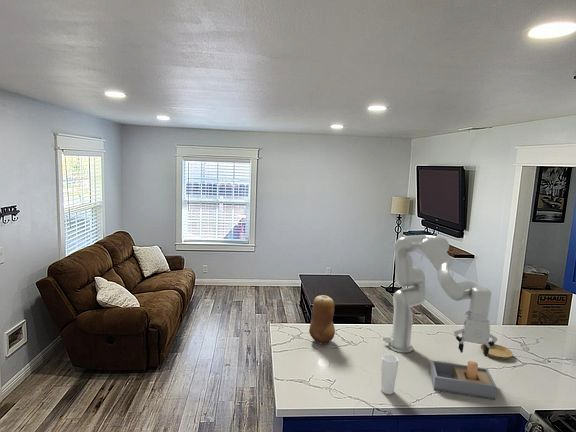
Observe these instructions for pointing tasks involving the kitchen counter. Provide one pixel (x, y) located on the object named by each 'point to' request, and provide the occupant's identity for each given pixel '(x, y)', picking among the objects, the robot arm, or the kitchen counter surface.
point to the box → (461, 380)
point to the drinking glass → (388, 373)
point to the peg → (472, 370)
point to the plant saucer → (498, 352)
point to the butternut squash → (322, 320)
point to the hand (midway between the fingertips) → (472, 353)
